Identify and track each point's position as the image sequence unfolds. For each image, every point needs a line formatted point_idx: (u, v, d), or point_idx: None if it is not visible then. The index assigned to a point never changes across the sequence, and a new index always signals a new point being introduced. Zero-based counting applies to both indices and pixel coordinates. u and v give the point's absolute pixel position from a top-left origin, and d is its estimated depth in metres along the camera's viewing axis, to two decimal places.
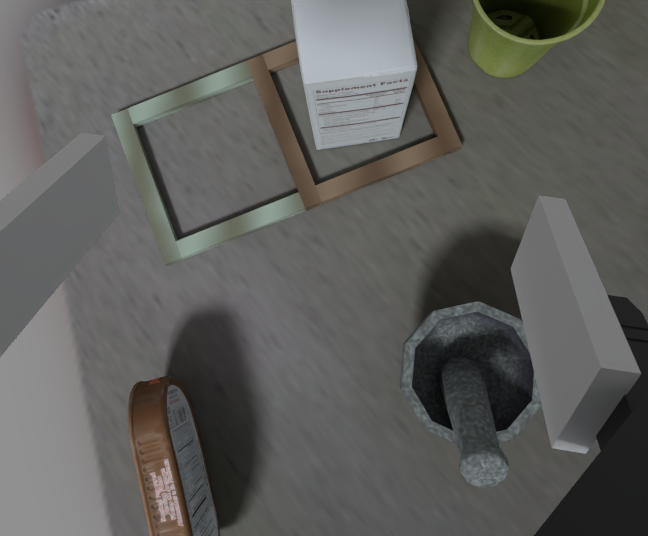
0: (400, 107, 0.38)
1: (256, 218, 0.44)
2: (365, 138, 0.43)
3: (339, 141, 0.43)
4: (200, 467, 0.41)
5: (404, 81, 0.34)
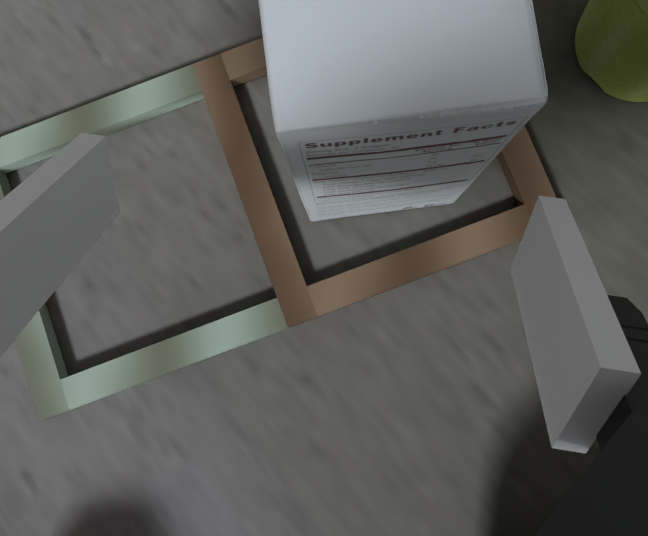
0: (476, 166, 0.19)
1: (201, 343, 0.25)
2: (396, 206, 0.24)
3: (351, 211, 0.24)
4: None
5: (507, 125, 0.15)
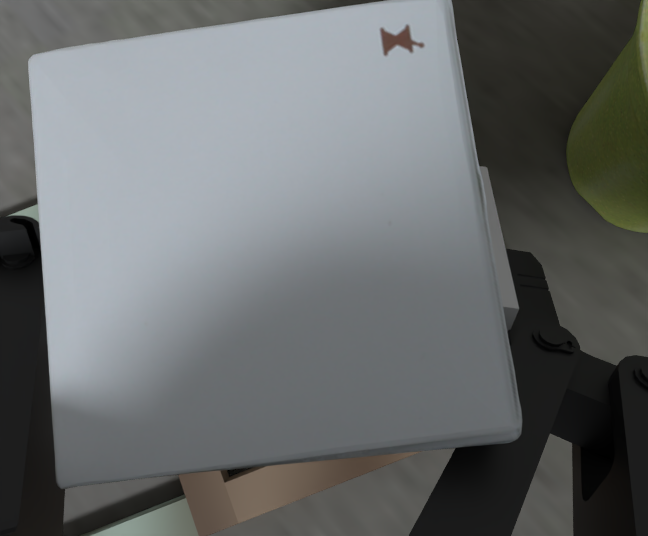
0: None
1: None
2: None
3: None
4: None
5: None
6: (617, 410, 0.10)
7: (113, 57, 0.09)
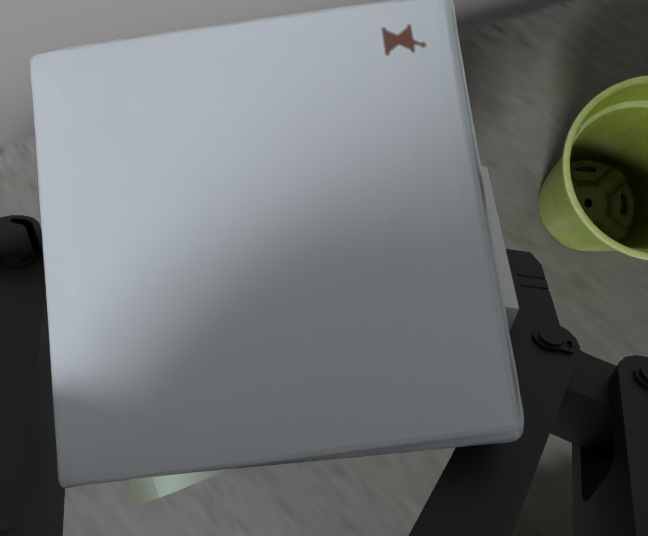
0: None
1: None
2: None
3: None
4: None
5: None
6: (617, 410, 0.10)
7: (115, 57, 0.09)
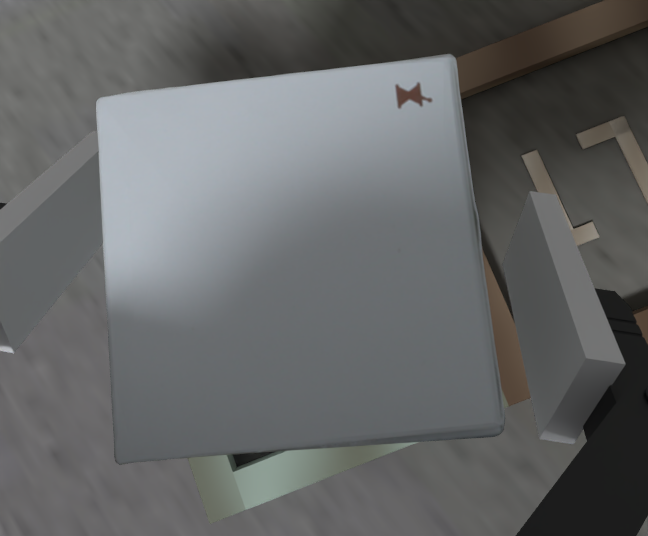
0: None
1: None
2: None
3: None
4: None
5: None
6: None
7: (169, 102, 0.10)
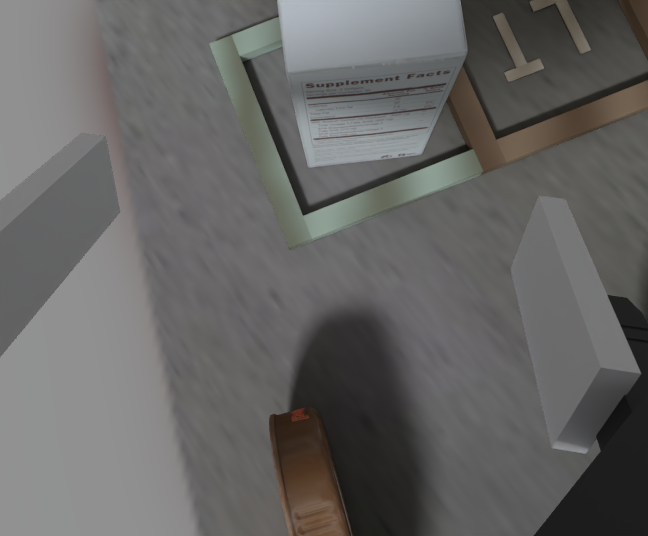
0: (431, 113, 0.26)
1: (414, 184, 0.32)
2: (375, 154, 0.31)
3: (340, 157, 0.31)
4: None
5: (444, 74, 0.22)
6: None
7: None
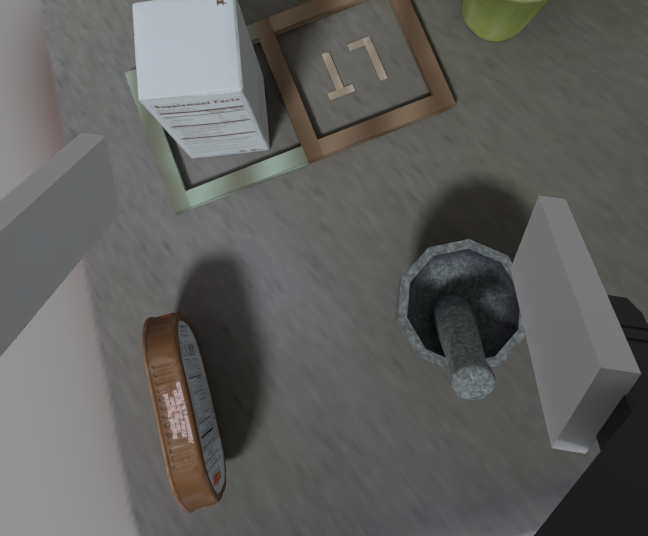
0: (249, 122, 0.41)
1: (261, 170, 0.46)
2: (233, 149, 0.46)
3: (209, 151, 0.46)
4: (207, 401, 0.44)
5: (237, 100, 0.37)
6: None
7: (153, 4, 0.36)
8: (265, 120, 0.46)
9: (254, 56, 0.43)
